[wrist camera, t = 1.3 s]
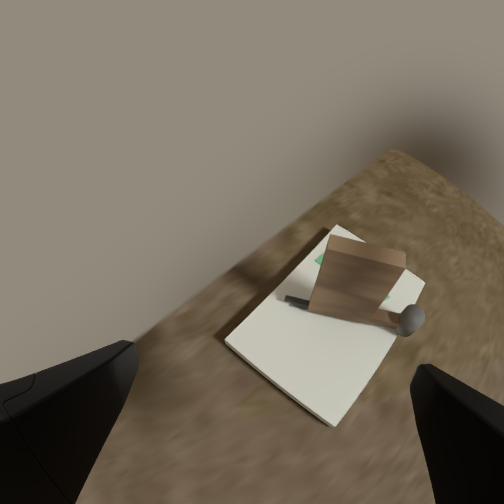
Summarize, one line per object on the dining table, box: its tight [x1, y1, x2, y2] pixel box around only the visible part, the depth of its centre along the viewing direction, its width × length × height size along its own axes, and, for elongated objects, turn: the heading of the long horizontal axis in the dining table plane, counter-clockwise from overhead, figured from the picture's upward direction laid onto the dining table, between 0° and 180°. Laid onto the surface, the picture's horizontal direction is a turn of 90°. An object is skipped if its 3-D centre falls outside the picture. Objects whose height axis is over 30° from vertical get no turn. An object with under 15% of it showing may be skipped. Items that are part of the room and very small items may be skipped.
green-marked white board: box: [224, 225, 425, 428], centre depth 24 cm, size 11×16×1 cm
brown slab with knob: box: [284, 234, 425, 337], centre depth 20 cm, size 12×2×8 cm, turn 73°
